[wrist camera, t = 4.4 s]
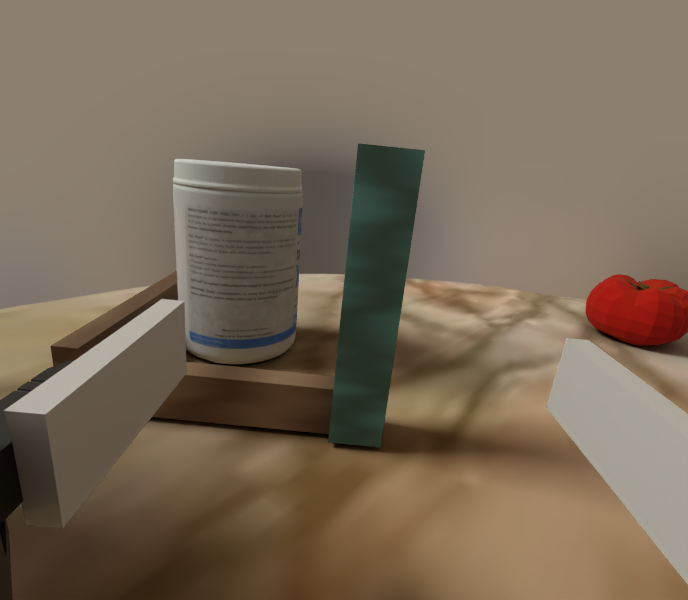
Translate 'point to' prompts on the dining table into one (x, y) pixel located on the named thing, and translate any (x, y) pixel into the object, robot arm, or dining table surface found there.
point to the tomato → (639, 310)
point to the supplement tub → (237, 258)
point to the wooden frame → (354, 334)
